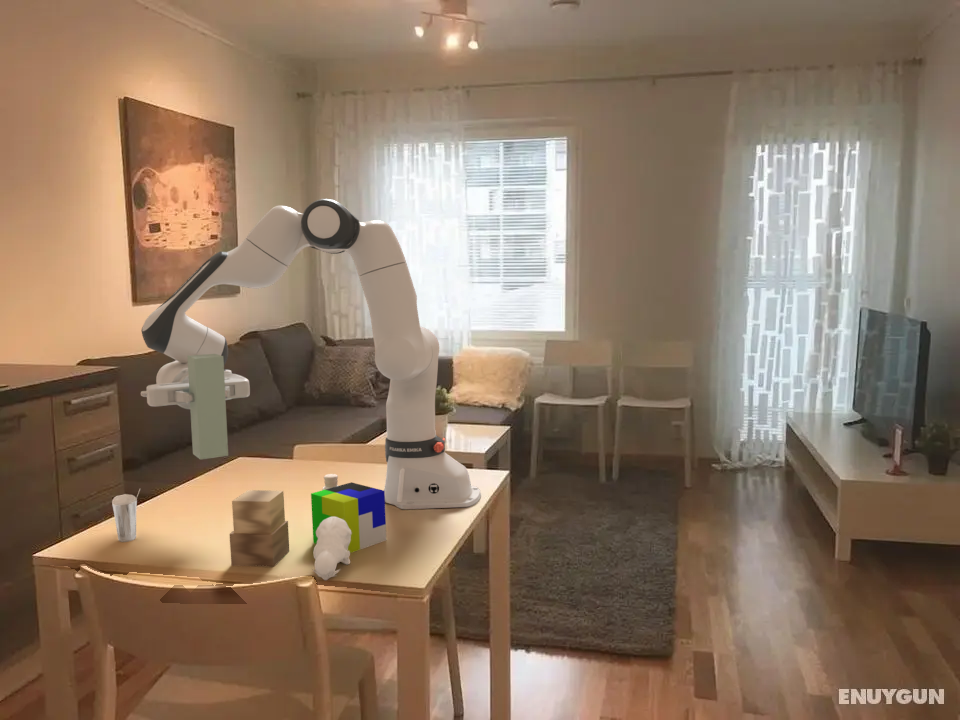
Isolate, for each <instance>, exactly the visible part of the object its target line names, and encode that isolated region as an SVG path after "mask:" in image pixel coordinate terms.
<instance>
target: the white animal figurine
mask: <svg viewBox="0 0 960 720" xmlns="http://www.w3.org/2000/svg"><path fill="white" fill-rule="evenodd" d="M351 534H352V533H351V530H350V529H349V527H348V525H347V523H346V521H344V520H343V519H340V518H338V517H329V518H327V519H325V520H323V521H322V522H321V523H320V525H319V527H318V528H317V530H316V536H317V538H318V540H317V544H315V546H314V547H313V551H312V552H313V553H312V554H313V558H314V559H315V561H314V569H312V568H311V570H312V571H313V572H314V573H315V575H316V576H317V577H319V578H321V579H323V580H324V581H328V580H329V579H330V578H332V577H333V578H334V577H338V575H337V574H338V573H339V572H340V571H341V568H339V569H336V568H337V565H338V564H339V563H340V562H341V563H342V564H344V565H350V563H351V560H350V555H351V553H350V551H349V550H348V546H349V544H350V541H351ZM347 550H348V551H347Z"/></svg>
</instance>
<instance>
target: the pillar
mask: <svg viewBox="0 0 960 720" xmlns="http://www.w3.org/2000/svg"><path fill="white" fill-rule="evenodd" d="M187 357H188V375H189V393H190V392H192V393H194V399H195V401H194V402H190V409H189V410H190V411H189V412H190V423H191V424H190V425H191V427H190V428H191V443H192V444H191V445H192V455H193V456H195V457H196V458H197V459H199V460H207V459H214V458H219V457H220V458H221V457H222V458H223V457H228V456H229V445H228V442H229V441H228V425H227V424H228V423H227V422H228V421H227V405H226V401H227V400H225V380H224V370H225V365H224V360H223V356H221V355H218V354H205V355H192V356H187Z"/></svg>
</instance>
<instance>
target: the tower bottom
mask: <svg viewBox="0 0 960 720" xmlns="http://www.w3.org/2000/svg"><path fill="white" fill-rule="evenodd" d="M289 534H290V533H289V520H285V522H284V523H283V524H282V525H281V526H280V527H278V528H277V529H276V530H275V531H274V532H273V533H272V534H247V533H234V530H233V531H231V532H230V533H229V545H230V546H229V549H230V563H231V565H230V566H235V567H236V566H237V567H239V566H240V567H241V566H242V567H244V566H245V567H271V568H273V567H276V565H277V564H278V563H279V562H280V561H281V560H282V559H283V558H284V557H285V556H286V555H287V554H288V553H289V552H290V537H289V536H290V535H289Z"/></svg>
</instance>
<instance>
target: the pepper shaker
mask: <svg viewBox="0 0 960 720" xmlns="http://www.w3.org/2000/svg"><path fill="white" fill-rule="evenodd" d="M338 478H339V476H338V474H336V473H328V474H327V473H326V474H325V475H324V476H323V479H324V486H323V487H322V490H326V489H329V488H333V487H336V486H339V485H338V483H339V482H338ZM322 490H321V491H322Z"/></svg>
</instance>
